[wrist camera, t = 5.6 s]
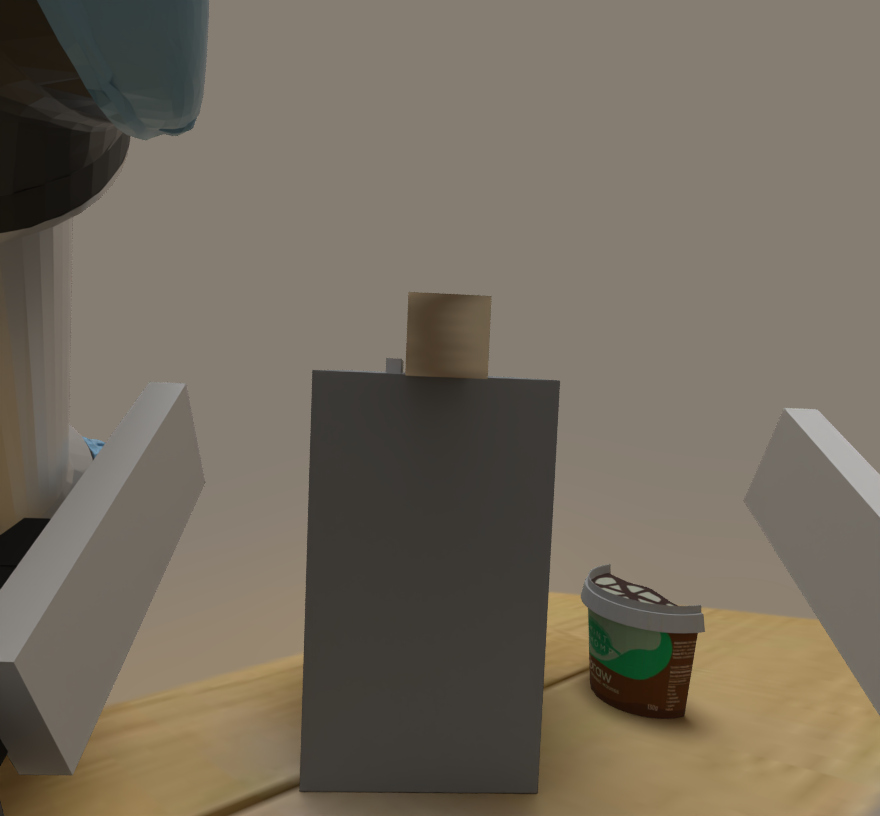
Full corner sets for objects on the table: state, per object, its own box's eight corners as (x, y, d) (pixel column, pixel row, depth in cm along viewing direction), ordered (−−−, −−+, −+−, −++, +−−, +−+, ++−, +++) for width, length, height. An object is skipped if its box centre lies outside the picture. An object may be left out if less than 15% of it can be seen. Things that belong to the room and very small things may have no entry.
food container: (549, 670, 60) (555, 568, 59) (600, 660, 62) (606, 562, 62) (641, 741, 49) (649, 617, 48) (698, 725, 51) (706, 607, 51)
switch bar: (405, 375, 30) (408, 291, 30) (407, 372, 56) (409, 328, 56) (487, 379, 30) (491, 296, 30) (451, 374, 56) (453, 330, 56)
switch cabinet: (299, 791, 41) (313, 354, 40) (334, 656, 61) (344, 359, 59) (537, 793, 42) (560, 365, 40) (497, 659, 61) (511, 366, 60)
